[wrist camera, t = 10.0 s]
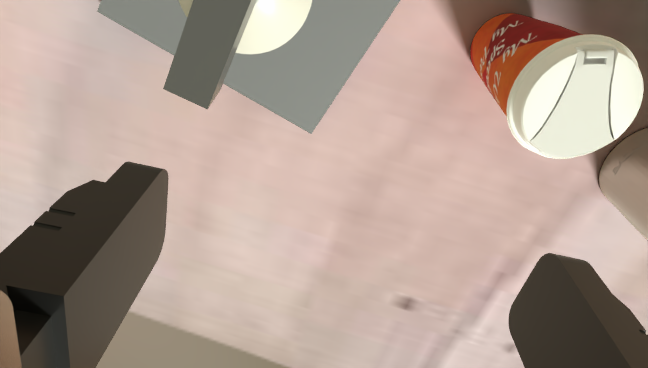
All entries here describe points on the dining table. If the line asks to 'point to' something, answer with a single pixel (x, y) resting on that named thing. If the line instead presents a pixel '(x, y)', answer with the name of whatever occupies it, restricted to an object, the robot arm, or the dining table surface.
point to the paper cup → (557, 84)
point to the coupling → (227, 40)
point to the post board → (278, 52)
